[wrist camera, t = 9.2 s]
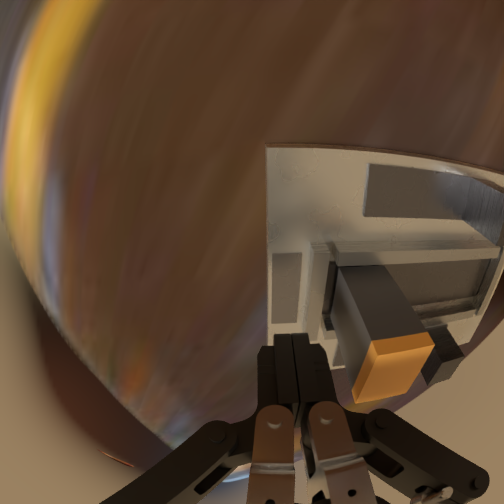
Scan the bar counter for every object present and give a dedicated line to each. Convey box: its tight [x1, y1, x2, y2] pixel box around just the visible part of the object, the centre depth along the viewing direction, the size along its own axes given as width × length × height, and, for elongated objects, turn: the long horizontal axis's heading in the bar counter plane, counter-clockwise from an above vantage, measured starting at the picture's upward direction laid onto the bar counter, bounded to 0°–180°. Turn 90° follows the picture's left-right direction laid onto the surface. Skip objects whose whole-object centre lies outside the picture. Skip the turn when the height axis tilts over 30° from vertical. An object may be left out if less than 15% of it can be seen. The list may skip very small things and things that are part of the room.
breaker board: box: [265, 143, 504, 386], centre depth 15 cm, size 16×20×6 cm
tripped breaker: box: [330, 265, 435, 404], centre depth 12 cm, size 4×3×6 cm
